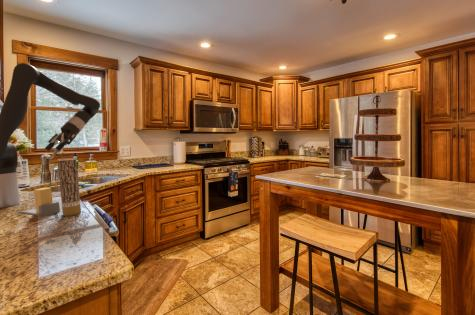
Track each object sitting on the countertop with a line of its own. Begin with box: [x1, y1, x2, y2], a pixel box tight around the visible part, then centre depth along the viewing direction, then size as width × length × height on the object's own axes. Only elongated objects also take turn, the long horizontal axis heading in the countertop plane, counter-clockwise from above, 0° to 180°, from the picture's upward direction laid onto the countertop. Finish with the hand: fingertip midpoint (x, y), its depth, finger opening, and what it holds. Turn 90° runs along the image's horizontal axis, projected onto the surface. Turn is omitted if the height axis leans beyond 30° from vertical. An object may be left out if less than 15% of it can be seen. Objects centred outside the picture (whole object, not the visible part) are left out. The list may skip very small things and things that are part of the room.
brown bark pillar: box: [57, 157, 82, 217], centre depth 109 cm, size 7×7×25 cm
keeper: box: [33, 187, 53, 214], centre depth 111 cm, size 4×4×11 cm
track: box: [18, 201, 61, 217], centre depth 113 cm, size 18×7×5 cm, turn 67°
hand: (52, 149), depth 121 cm, fingers open, 8 cm apart
